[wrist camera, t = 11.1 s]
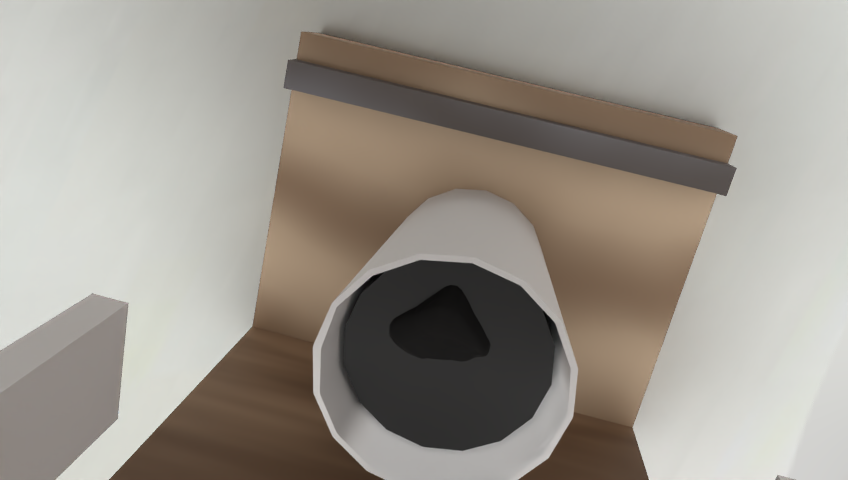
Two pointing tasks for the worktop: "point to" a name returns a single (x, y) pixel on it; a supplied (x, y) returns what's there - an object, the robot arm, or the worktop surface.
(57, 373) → the robot arm
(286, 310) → the wooden display stand
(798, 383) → the worktop surface
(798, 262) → the worktop surface
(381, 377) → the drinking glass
